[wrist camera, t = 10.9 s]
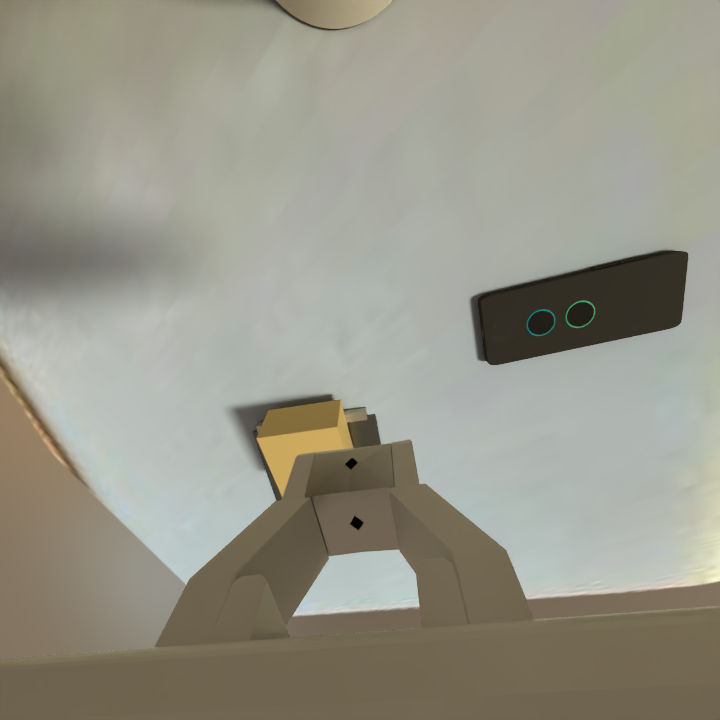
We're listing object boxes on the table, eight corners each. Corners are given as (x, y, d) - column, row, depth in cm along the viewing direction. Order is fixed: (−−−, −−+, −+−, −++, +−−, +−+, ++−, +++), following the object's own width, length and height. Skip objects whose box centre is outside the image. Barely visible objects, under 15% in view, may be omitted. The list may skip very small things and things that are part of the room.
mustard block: (256, 438, 36) (283, 500, 41) (337, 426, 35) (355, 491, 40) (268, 410, 41) (291, 469, 45) (340, 399, 40) (356, 460, 44)
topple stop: (250, 423, 43) (248, 427, 42) (373, 406, 41) (373, 410, 41) (278, 500, 48) (276, 506, 47) (389, 488, 46) (389, 493, 45)
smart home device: (480, 297, 35) (690, 247, 32) (475, 293, 36) (675, 246, 34) (489, 368, 38) (681, 328, 35) (484, 362, 39) (668, 323, 37)
